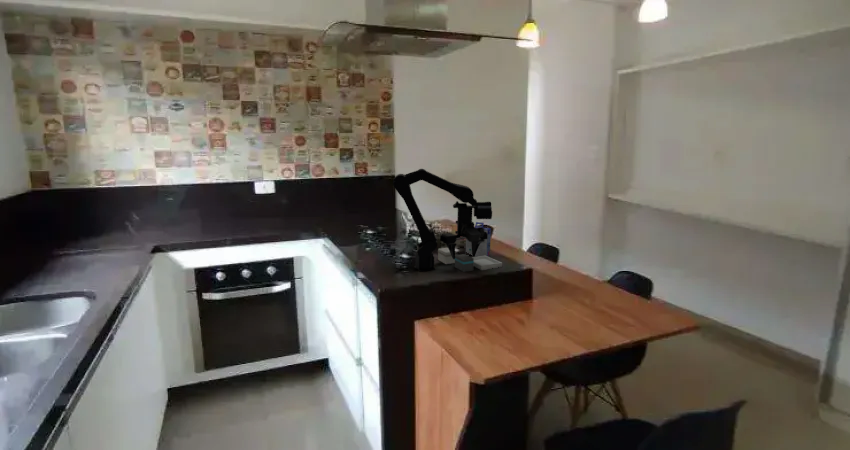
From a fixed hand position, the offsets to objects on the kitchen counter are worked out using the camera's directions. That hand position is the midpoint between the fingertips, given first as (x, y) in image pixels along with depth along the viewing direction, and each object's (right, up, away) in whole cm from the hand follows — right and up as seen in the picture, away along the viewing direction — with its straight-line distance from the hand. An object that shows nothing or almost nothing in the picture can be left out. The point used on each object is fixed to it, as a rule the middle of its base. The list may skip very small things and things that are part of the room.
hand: (463, 257), depth 183 cm
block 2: (0, -5, +1) cm, 5 cm away
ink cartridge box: (+8, -1, +20) cm, 22 cm away
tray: (+9, -3, +6) cm, 11 cm away
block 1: (-6, -2, +11) cm, 13 cm away
